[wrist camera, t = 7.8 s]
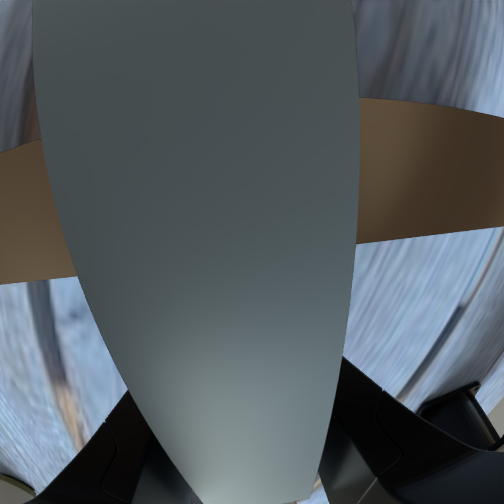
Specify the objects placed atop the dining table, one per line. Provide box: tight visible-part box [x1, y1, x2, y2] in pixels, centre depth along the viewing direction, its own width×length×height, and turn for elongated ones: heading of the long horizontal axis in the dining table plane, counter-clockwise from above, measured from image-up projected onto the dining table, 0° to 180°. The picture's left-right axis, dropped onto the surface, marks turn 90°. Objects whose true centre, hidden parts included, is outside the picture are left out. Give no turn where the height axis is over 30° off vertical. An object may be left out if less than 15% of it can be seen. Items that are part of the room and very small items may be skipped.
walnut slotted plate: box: [0, 98, 504, 285], centre depth 7 cm, size 20×2×6 cm, turn 94°
